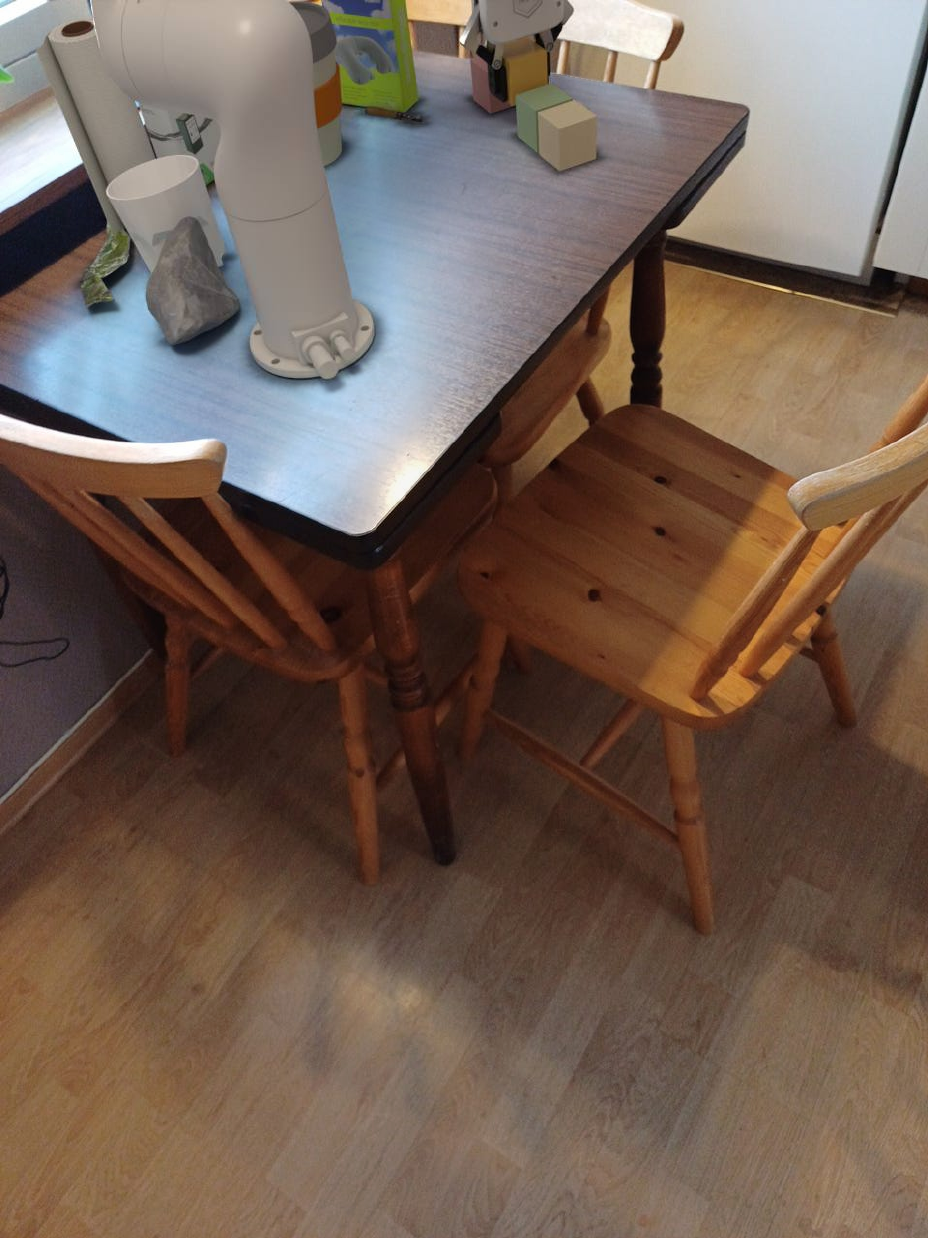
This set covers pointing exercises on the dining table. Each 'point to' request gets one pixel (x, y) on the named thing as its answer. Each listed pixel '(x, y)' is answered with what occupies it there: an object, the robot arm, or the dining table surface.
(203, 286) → the stone
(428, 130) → the dining table surface
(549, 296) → the dining table surface
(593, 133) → the block
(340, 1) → the box
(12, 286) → the dining table surface
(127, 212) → the cup
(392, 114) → the can opener
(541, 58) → the ochre block
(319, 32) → the reusable coffee cup
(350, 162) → the dining table surface
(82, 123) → the paper towel roll
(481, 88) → the block
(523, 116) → the block
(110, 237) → the green crumpled strip
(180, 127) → the ink box
